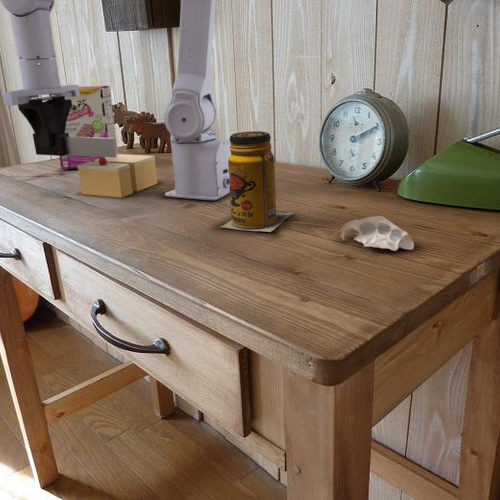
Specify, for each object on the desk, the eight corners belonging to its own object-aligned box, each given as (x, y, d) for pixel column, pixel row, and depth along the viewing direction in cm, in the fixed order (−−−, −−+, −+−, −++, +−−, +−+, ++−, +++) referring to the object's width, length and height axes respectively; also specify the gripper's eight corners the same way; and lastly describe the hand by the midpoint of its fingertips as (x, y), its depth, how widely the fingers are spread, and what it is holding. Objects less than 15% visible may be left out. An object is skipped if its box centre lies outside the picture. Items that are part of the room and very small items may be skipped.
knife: (36, 154, 91) (32, 133, 90) (44, 152, 93) (41, 131, 91) (112, 158, 84) (109, 136, 83) (120, 156, 86) (117, 133, 85)
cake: (157, 183, 97) (154, 155, 96) (137, 191, 92) (133, 162, 91) (119, 180, 101) (116, 153, 99) (98, 188, 96) (94, 160, 94)
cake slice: (133, 193, 91) (128, 156, 89) (121, 197, 89) (117, 160, 87) (93, 189, 95) (88, 154, 93) (81, 194, 92) (76, 158, 90)
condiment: (219, 228, 72) (213, 137, 67) (246, 210, 79) (242, 127, 74) (270, 233, 69) (267, 138, 64) (293, 215, 76) (292, 128, 72)
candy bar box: (60, 170, 112) (46, 88, 106) (70, 165, 116) (57, 86, 110) (112, 169, 110) (101, 86, 105) (120, 164, 115) (110, 84, 109)
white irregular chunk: (365, 231, 68) (366, 202, 66) (418, 248, 62) (421, 216, 60) (333, 242, 65) (334, 211, 63) (387, 260, 59) (388, 226, 57)
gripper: (52, 58, 93) (65, 137, 98) (-19, 62, 81) (0, 152, 86) (84, 56, 90) (96, 139, 95) (15, 60, 78) (33, 154, 83)
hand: (52, 145), depth 90 cm, fingers closed on knife, 2 cm apart
